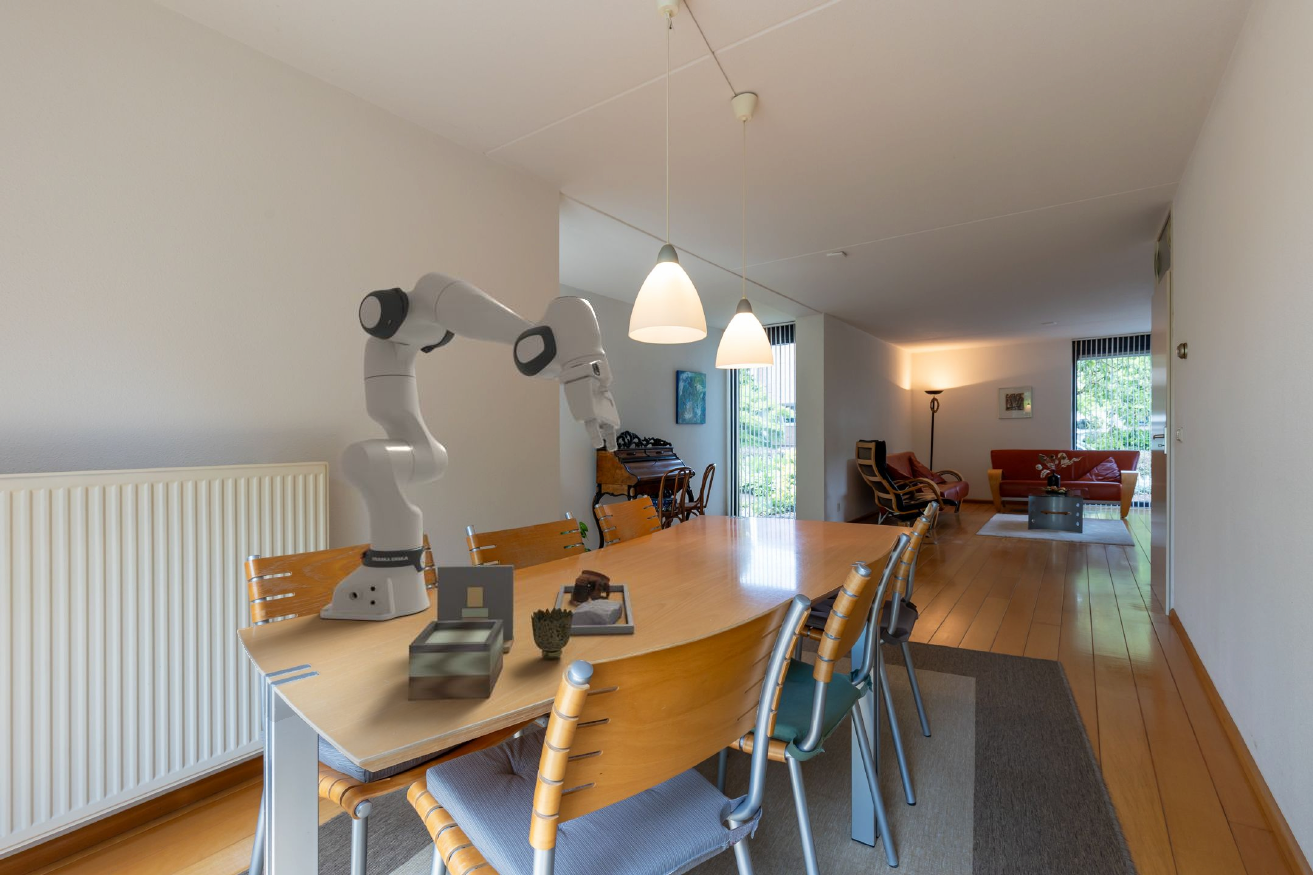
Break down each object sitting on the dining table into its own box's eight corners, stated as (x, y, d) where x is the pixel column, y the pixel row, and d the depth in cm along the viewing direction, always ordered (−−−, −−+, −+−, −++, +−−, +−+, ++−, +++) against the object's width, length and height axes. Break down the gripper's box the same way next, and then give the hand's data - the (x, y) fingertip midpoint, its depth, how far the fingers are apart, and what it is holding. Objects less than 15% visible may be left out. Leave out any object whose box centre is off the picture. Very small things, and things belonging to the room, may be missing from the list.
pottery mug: (561, 600, 146) (573, 568, 150) (594, 613, 150) (605, 582, 153) (581, 599, 136) (593, 565, 140) (616, 613, 140) (626, 579, 143)
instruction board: (431, 654, 109) (431, 572, 108) (440, 642, 114) (440, 564, 114) (509, 652, 110) (509, 570, 110) (514, 641, 116) (514, 563, 116)
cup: (539, 648, 112) (539, 606, 112) (577, 650, 111) (577, 607, 111) (524, 663, 104) (525, 618, 104) (565, 666, 103) (565, 620, 103)
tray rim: (549, 635, 119) (549, 627, 119) (560, 591, 153) (561, 585, 153) (634, 633, 121) (634, 625, 121) (627, 589, 155) (627, 584, 155)
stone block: (566, 637, 124) (611, 631, 122) (562, 614, 124) (607, 607, 122) (584, 621, 136) (626, 616, 134) (581, 600, 136) (622, 594, 134)
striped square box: (408, 699, 90) (408, 645, 90) (431, 668, 102) (431, 620, 102) (489, 697, 91) (490, 643, 91) (502, 666, 103) (503, 619, 103)
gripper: (588, 392, 122) (605, 456, 120) (553, 372, 102) (572, 450, 100) (617, 383, 121) (634, 448, 119) (587, 361, 101) (607, 439, 99)
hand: (606, 449), depth 110 cm, fingers open, 8 cm apart
